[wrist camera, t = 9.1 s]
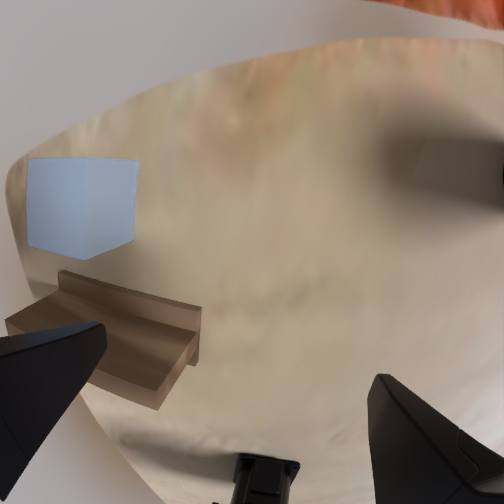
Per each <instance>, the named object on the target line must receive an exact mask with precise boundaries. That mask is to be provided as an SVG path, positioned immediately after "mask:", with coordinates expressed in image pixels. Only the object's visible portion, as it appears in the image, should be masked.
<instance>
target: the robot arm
mask: <svg viewBox="0 0 504 504" xmlns="http://www.w3.org/2000/svg"><path fill="white" fill-rule="evenodd" d="M107 346H108V343H107V335H106V328H105V325H104V324H103V323H100V322H97V321H89V322H84V323H79V324H74V325H69V326H63V327H58V328H52V329H47V330H41V331H36V332H30V333H24V334H18V335H12V336H11V337H10V336H6V337H0V500H1V501H5V499H6V498H7V496H8V495H9V493H10V491H11V490H12V488H13V487H14V485H15V484H16V482H17V480H18V479H19V477H20V476H21V474H22V473H23V471H24V470H25V468H26V467H27V465H28V463H29V461H30V460H31V459H32V457H33V456H34V454H35V453H36V452H37V450H38V449H39V447H40V446H41V444H42V443H43V441H44V440H45V438H46V437H47V436H48V434H49V433H50V431H51V430H52V429H53V427H54V426H55V424H56V423H57V422H58V420H59V419H60V417H61V416H62V415H63V413H64V412H65V411H66V409H67V408H68V406H69V405H70V404H71V402H72V401H73V400H74V398H75V397H76V396H77V394H78V393H79V392H80V390H81V389H82V388H83V386H84V385H85V384H86V382H87V381H88V379H89V378H90V376H91V375H92V373H93V371H94V370H95V368H96V366H97V365H98V363H99V361H100V360H101V358H102V357H103V355H104V353H105V352H106V350H107ZM367 404H368V436H369V447H370V454H371V462H372V470H373V479H374V488H375V499H376V504H504V457H502V456H500V455H499V454H497V453H495V452H494V451H492V450H490V449H489V448H487V447H486V446H484V445H483V444H481V443H479V442H478V441H477V440H475V439H474V438H472V437H471V436H470V435H468V434H467V433H466V432H464V431H463V430H462V429H459V427H458V426H456V425H455V424H454V423H452V422H451V421H450V420H448V419H447V418H446V417H444V416H443V415H442V414H441V413H439V412H438V411H437V410H435V409H434V408H433V407H431V406H430V405H429V404H428V403H426V402H425V401H424V400H422V399H421V398H420V397H418V396H417V395H416V394H415V393H413V392H412V391H411V390H409V389H408V388H407V387H405V386H404V385H403V384H402V383H400V382H399V381H398V380H396V379H395V378H394V377H393V376H391V375H390V374H377V375H376V376H375V379H374V381H373V384H372V386H371V389H370V391H369V394H368V398H367ZM299 469H300V463H297V462H289V461H281V460H274V459H268V458H262V457H256V456H251V455H245V454H240V455H239V457H238V461H237V466H236V470H235V475H234V479H233V482H234V483H236V485H235V488H234V492H233V496H232V500H231V503H230V504H288V501H289V492H290V486H291V484H292V482H293V480H294V479H295V477H296V475H297V473H298V471H299ZM212 504H219V503H215V502H213V503H212Z"/></svg>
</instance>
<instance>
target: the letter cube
mask: <svg viewBox="0 0 504 504" xmlns="http://www.w3.org/2000/svg"><path fill="white" fill-rule="evenodd" d="M138 167H139V161H138V160H126V159H112V158H96V157H65V158H40V159H29V161H28V174H27V201H26V217H27V243H28V246H31V247H35V248H38V249H42V250H46V251H49V252H53V253H57V254H60V255H64V256H68V257H72V258H76V259H80V260H84V261H85V260H87V259H90V258H92V257H95V256H97V255H99V254H102V253H104V252H107V251H109V250H112V249H114V248H116V247H119V246H121V245H124V244H126V243H129V242H132V241H134V217H135V201H136V188H137V177H138Z"/></svg>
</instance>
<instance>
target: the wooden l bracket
mask: <svg viewBox="0 0 504 504" xmlns="http://www.w3.org/2000/svg"><path fill="white" fill-rule="evenodd" d="M58 280H59V290H58V291H56V292H54V293H52V294H51V295H49V296H47V297H45V298H43V299H41V300H39V301H37V302H36V303H34V304H32V305H30V306H28V307H26V308H24V309H23V310H21V311H19V312H17V313H16V314H14V315H12V316H10V317H8V318H6V319H5V323H6V328H7V331H8V335H9V336H10V337H11V336H12V335H18V334H24V333H30V332H36V331H41V330H47V329H52V328H58V327H63V326H69V325H74V324H79V323H84V322H89V321H97V322H100V323H103V324H104V325H105V328H106V335H107V343H108V346H107V350H106V352H105V353H104V355H103V357H102V358H101V360H100V361H99V363H98V365H97V366H96V368H95V370H94V371H93V373H92V375H91V376H90V378H89V379H88V381H87V382H89V383H91V384H93V385H95V386H97V387H99V388H101V389H104V390H106V391H108V392H111V393H113V394H115V395H118V396H120V397H123V398H125V399H127V400H130V401H133V402H135V403H138V404H140V405H143V406H146V407H149V408H151V409H154V410H157V411H158V410H159V408H160V406H161V405H162V403H163V402H164V400H165V398H166V397H167V395H168V394H169V392H170V390H171V389H172V387H173V386H174V384H175V382H176V381H177V379H178V378H179V376H180V374H181V373H182V371H183V369H184V368H185V366H186V365H187V364H188V365H191V366H196V364H197V362H198V355H199V339H200V324H201V311H202V307H198V306H193V305H189V304H185V303H181V302H176V301H172V300H168V299H164V298H160V297H156V296H152V295H148V294H144V293H141V292H137V291H133V290H129V289H126V288H122V287H118V286H115V285H111V284H108V283H104V282H101V281H97V280H94V279H90V278H87V277H84V276H80V275H77V274H74V273H71V272H68V271H64V270H63V271H60V272H58Z"/></svg>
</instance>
